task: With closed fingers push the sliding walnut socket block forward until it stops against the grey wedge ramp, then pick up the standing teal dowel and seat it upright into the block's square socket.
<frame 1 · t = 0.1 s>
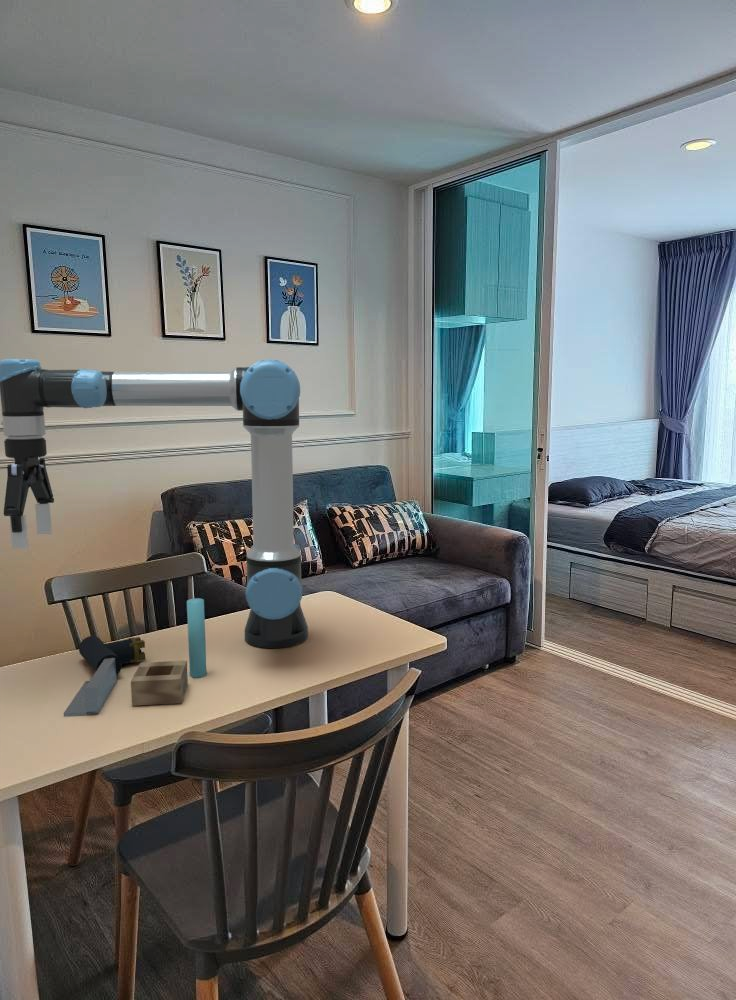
hand: (33, 540, 140), 28 cm above the table, fingers open, 13 cm apart
dowel: (198, 674, 142), on the table
grey wedge ramp: (102, 697, 131), on the table
pipe connector: (115, 665, 146), on the table, touching grey wedge ramp
socket block: (160, 682, 132), point 3 cm above the table, slide at 0.0 cm
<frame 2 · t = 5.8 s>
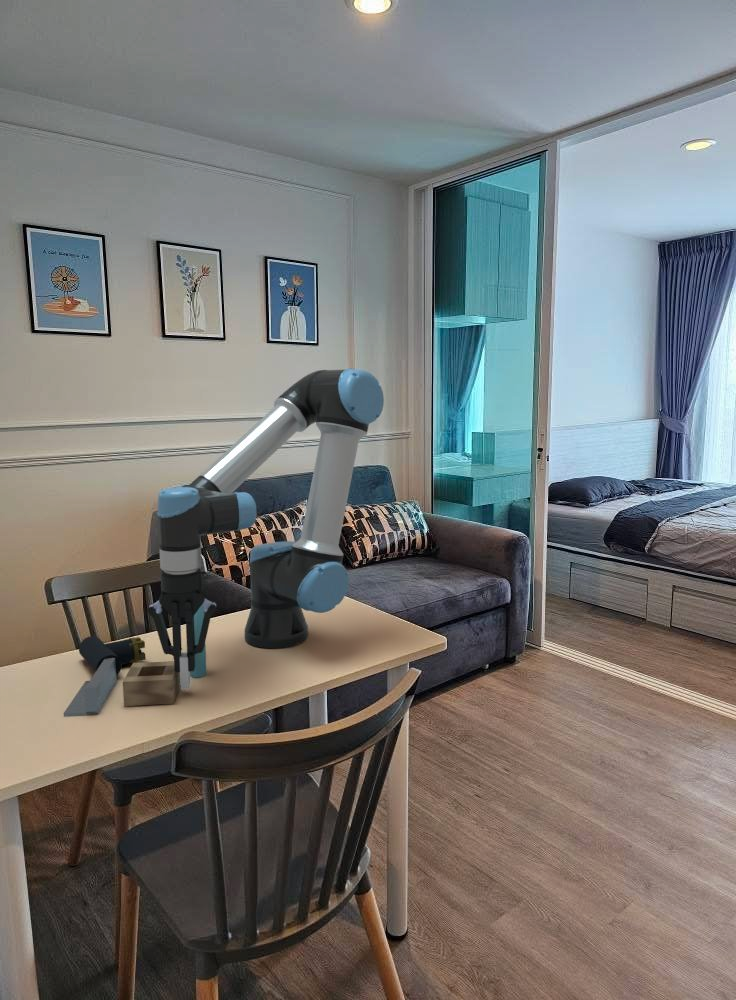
hand: (185, 686, 133), 2 cm above the table, fingers closed
socket block: (152, 682, 132), point 3 cm above the table, slide at 1.5 cm, touching gripper
everything else where it was.
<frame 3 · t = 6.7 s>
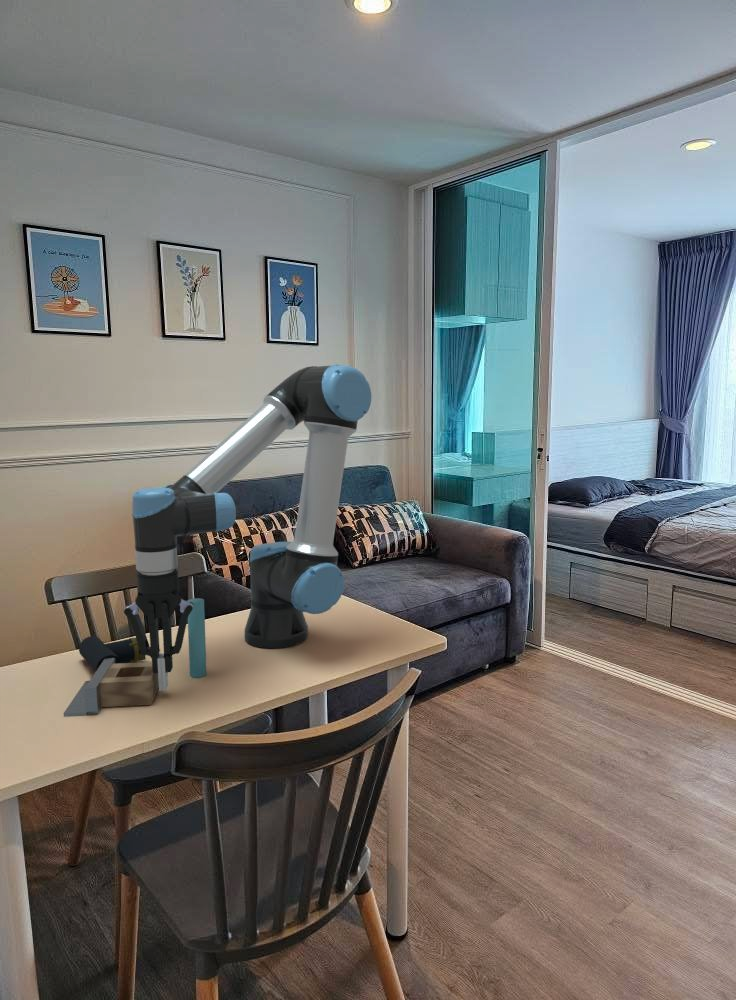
hand: (163, 687, 132), 2 cm above the table, fingers closed
socket block: (131, 683, 131), point 3 cm above the table, slide at 5.5 cm, touching grey wedge ramp, gripper
everything else where it was.
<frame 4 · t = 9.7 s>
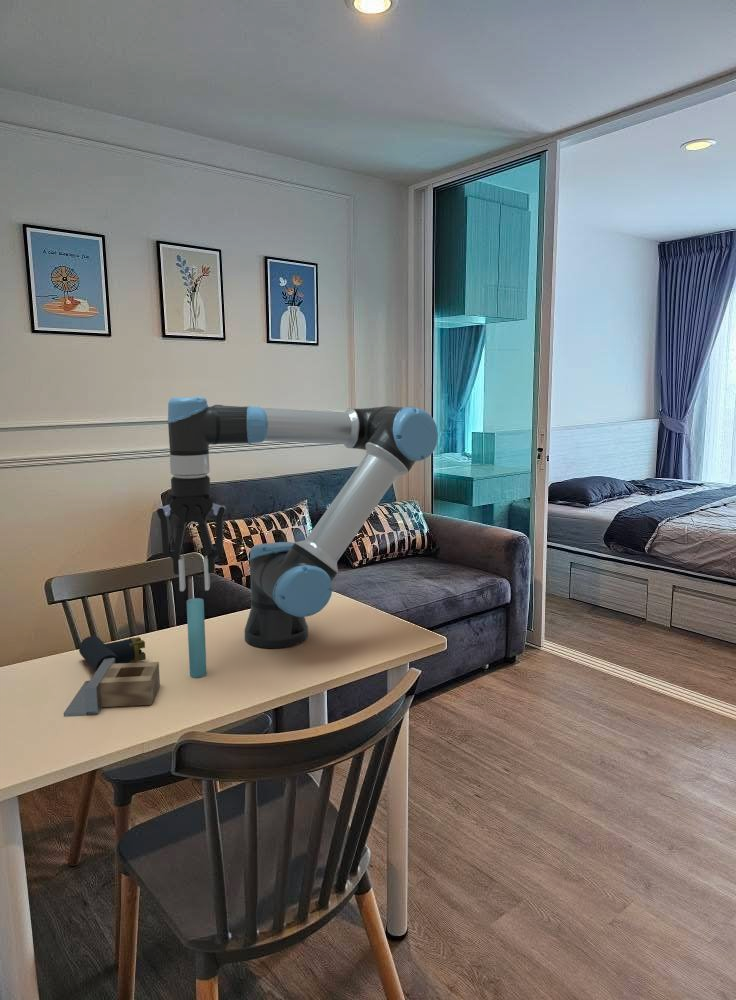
hand: (195, 588, 139), 19 cm above the table, fingers open, 4 cm apart
socket block: (131, 683, 131), point 3 cm above the table, slide at 5.5 cm
everything else where it was.
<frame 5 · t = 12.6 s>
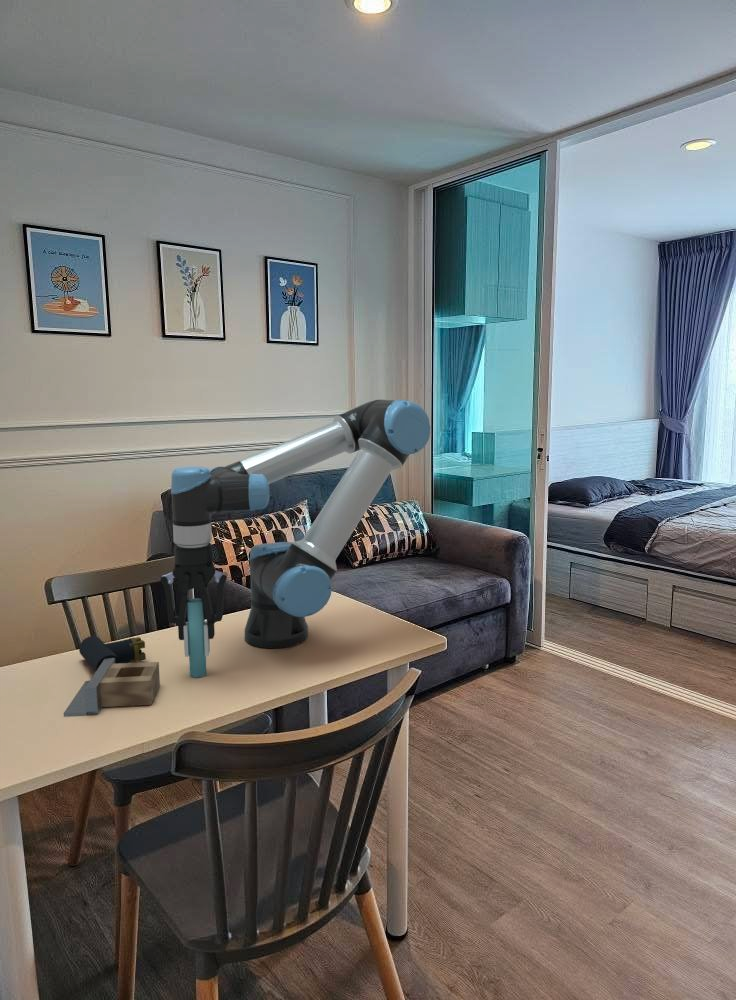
hand: (197, 653, 141), 5 cm above the table, fingers closed on dowel, 3 cm apart
dowel: (198, 674, 142), on the table, touching gripper
everything else where it was.
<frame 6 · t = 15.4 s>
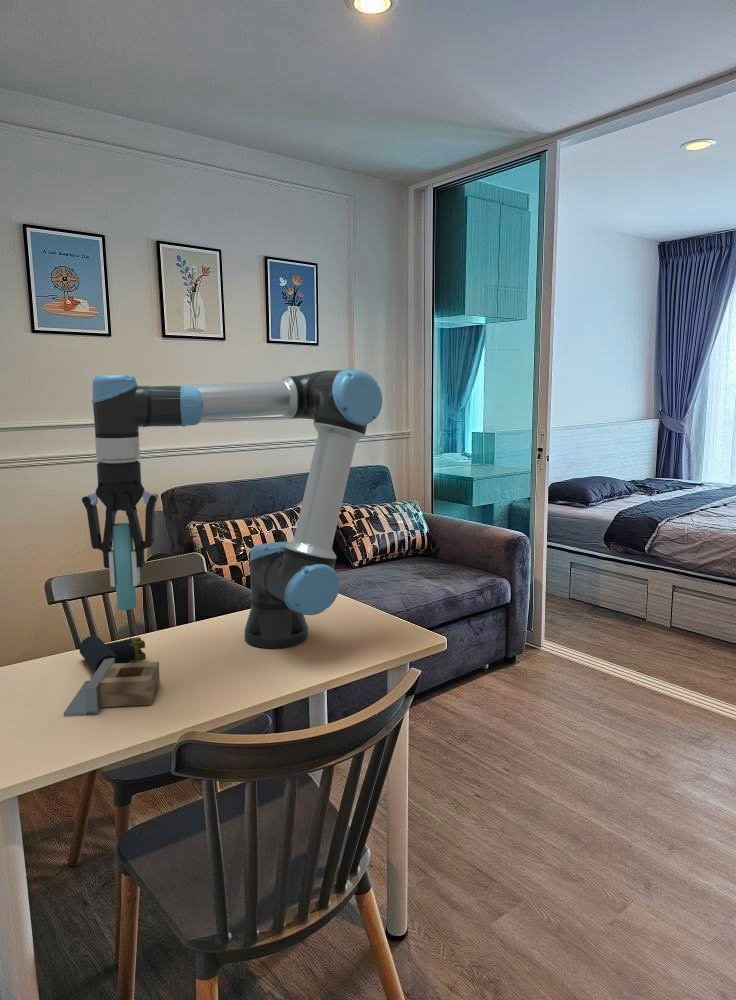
hand: (125, 583, 128), 23 cm above the table, fingers closed on dowel, 3 cm apart
dowel: (126, 607, 129), point 18 cm above the table, touching gripper
everything else where it was.
when the fingers open (7 cm above the table, at t = 18.7 s): dowel stays where it is, resting on socket block.
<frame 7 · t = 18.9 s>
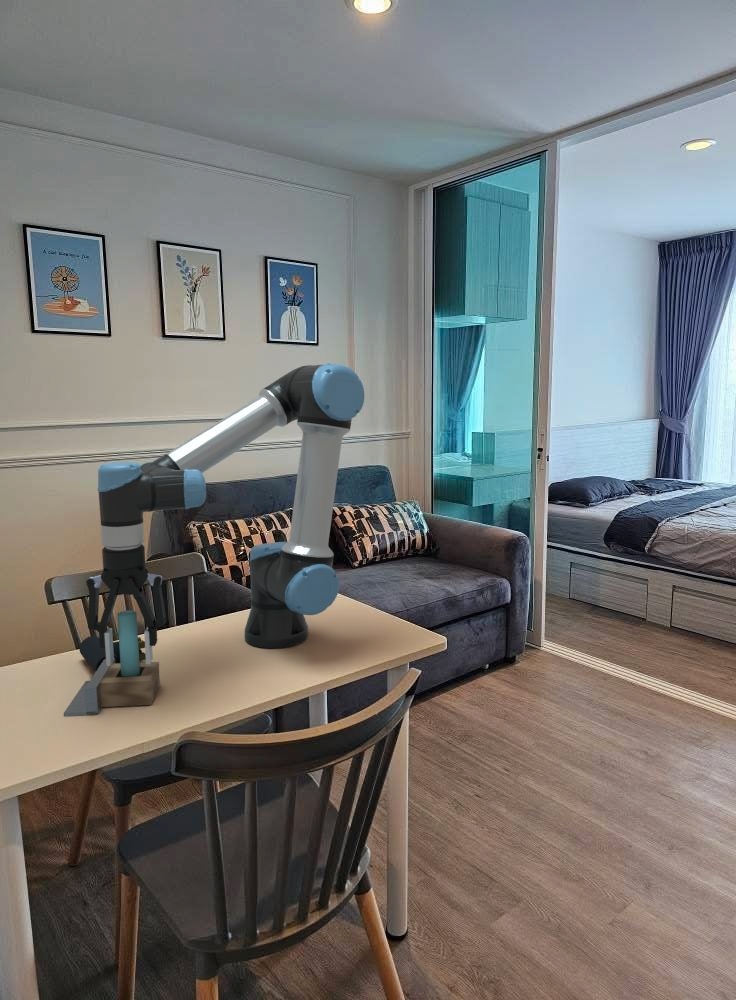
hand: (129, 662, 131), 7 cm above the table, fingers open, 7 cm apart
dowel: (131, 692, 132), point 1 cm above the table, touching socket block
socket block: (131, 683, 131), point 3 cm above the table, slide at 5.5 cm, touching dowel
everything else where it was.
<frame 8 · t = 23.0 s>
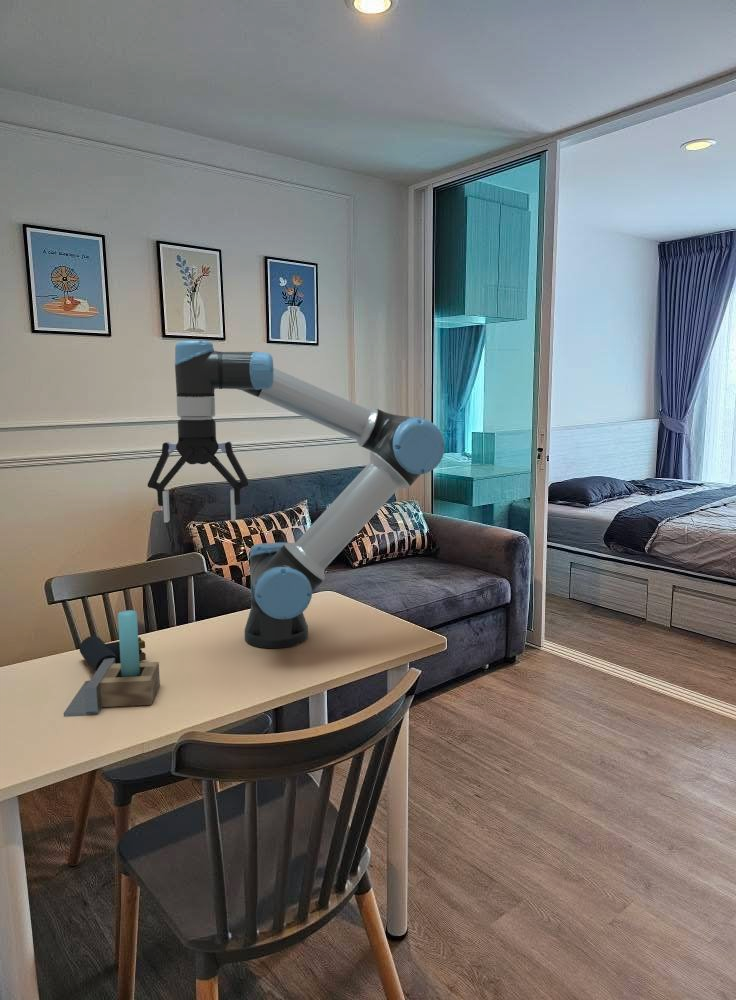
hand: (200, 520, 142), 32 cm above the table, fingers open, 13 cm apart
nothing on the table moved.
at the end: socket block slide at 5.5 cm; dowel 0.0 cm off-centre on the socket block, point 0.8 cm above the socket block's base; dowel tilted 0° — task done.
